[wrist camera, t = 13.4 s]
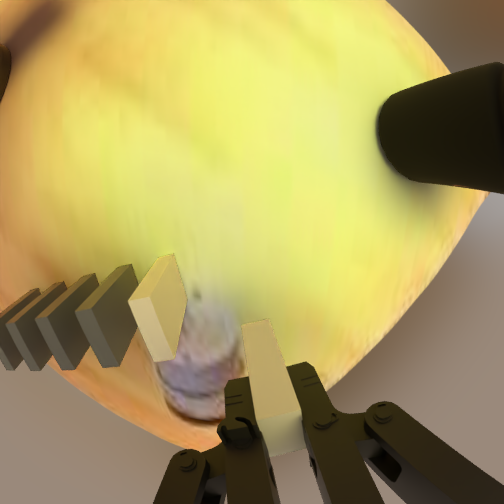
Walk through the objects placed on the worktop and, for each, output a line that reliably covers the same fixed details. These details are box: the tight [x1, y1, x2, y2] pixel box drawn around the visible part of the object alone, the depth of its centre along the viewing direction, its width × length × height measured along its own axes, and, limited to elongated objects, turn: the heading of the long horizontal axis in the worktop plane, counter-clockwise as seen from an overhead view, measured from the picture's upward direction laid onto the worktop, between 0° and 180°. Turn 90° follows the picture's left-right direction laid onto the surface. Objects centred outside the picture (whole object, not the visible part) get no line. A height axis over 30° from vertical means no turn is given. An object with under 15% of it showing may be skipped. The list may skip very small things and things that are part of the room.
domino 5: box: [128, 254, 188, 362], centre depth 21 cm, size 2×5×10 cm, turn 12°
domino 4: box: [75, 264, 138, 368], centre depth 21 cm, size 2×5×10 cm, turn 12°
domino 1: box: [0, 288, 41, 370], centre depth 20 cm, size 2×5×10 cm, turn 12°
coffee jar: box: [379, 62, 504, 194], centre depth 16 cm, size 11×11×18 cm
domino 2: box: [6, 281, 67, 371], centre depth 21 cm, size 2×5×10 cm, turn 12°
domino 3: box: [35, 273, 99, 370], centre depth 21 cm, size 2×5×10 cm, turn 12°
